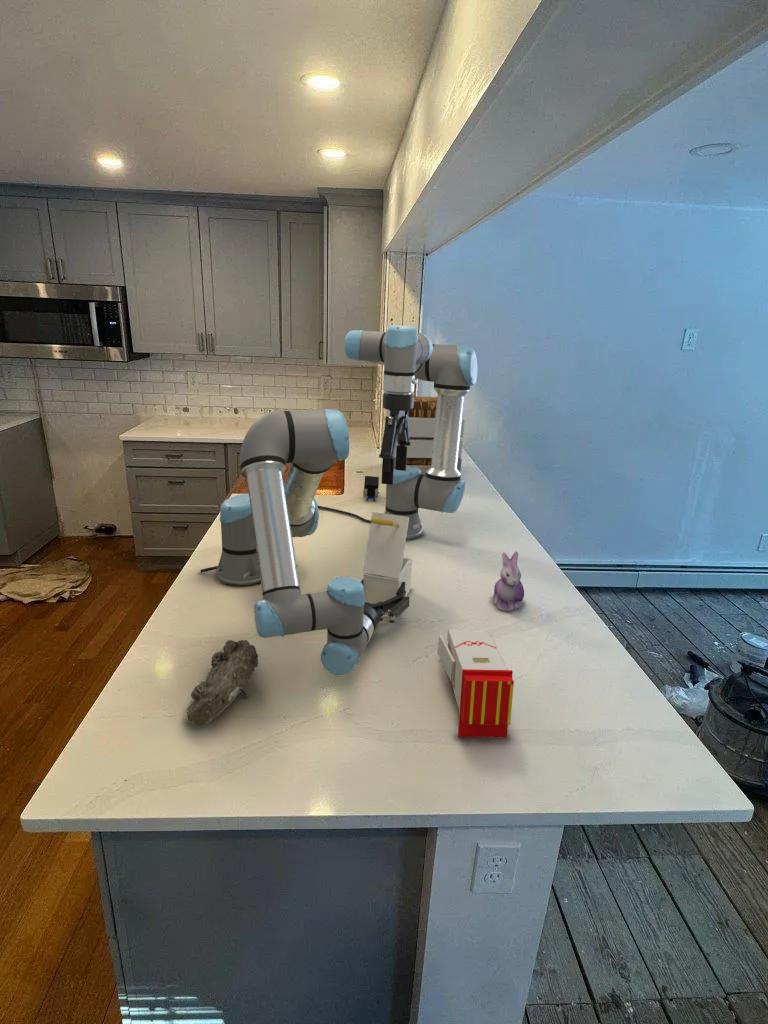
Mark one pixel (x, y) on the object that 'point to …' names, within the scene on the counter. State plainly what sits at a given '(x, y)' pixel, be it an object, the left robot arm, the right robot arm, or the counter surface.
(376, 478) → the figurine character
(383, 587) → the chest
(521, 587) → the figurine
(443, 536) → the counter surface
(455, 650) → the toy
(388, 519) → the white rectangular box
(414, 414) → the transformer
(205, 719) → the fossil
